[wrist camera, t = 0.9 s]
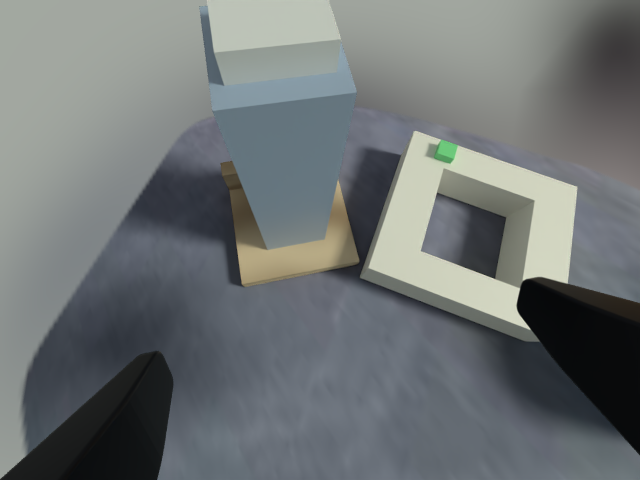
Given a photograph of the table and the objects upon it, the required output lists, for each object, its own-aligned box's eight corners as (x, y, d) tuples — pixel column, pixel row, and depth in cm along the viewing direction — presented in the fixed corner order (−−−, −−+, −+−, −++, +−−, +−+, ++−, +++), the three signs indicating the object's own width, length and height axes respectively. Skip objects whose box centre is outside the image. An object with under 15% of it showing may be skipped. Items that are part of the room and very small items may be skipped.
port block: (525, 341, 20) (570, 342, 17) (359, 277, 21) (370, 265, 18) (544, 205, 24) (584, 182, 20) (401, 154, 24) (417, 124, 21)
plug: (324, 239, 21) (363, 61, 7) (267, 250, 20) (199, 79, 7) (313, 188, 22) (328, -43, 9) (258, 197, 21) (187, -33, 8)
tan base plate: (356, 264, 21) (365, 253, 18) (244, 286, 20) (235, 278, 17) (332, 168, 24) (336, 145, 21) (230, 184, 23) (220, 162, 20)
